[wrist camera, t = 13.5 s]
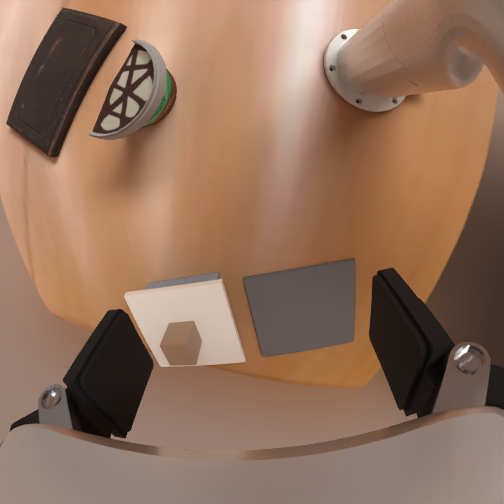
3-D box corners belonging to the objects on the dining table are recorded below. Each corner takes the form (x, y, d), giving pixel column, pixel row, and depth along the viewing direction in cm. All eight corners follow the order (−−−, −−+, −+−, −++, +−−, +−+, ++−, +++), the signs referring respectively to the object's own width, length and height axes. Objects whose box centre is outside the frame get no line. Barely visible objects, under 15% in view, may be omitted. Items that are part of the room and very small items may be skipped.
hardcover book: (14, 122, 30) (5, 123, 28) (69, 10, 22) (62, 7, 20) (60, 156, 34) (51, 158, 32) (128, 28, 26) (122, 23, 24)
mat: (353, 258, 39) (354, 259, 39) (352, 339, 46) (353, 341, 46) (243, 277, 41) (243, 278, 41) (262, 355, 48) (262, 356, 48)
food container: (159, 150, 34) (126, 158, 24) (124, 134, 32) (84, 137, 23) (202, 71, 29) (182, 50, 20) (164, 56, 28) (134, 35, 19)
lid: (222, 278, 36) (216, 305, 30) (245, 357, 42) (244, 386, 36) (126, 292, 37) (109, 316, 32) (162, 362, 43) (153, 388, 38)
